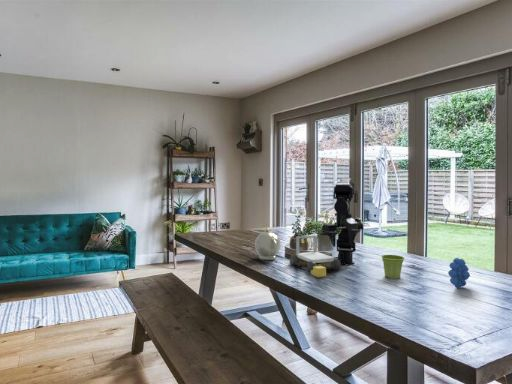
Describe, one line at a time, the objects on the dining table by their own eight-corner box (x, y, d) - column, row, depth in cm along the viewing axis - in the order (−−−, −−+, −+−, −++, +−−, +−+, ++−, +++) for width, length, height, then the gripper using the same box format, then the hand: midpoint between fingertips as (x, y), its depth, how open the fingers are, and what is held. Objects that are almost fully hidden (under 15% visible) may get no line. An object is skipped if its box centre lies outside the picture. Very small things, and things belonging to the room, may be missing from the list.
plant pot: (403, 275, 163) (403, 255, 162) (404, 280, 154) (405, 259, 154) (381, 273, 166) (381, 254, 165) (381, 278, 157) (381, 258, 157)
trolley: (290, 263, 185) (290, 235, 184) (316, 261, 191) (316, 233, 190) (312, 273, 166) (312, 242, 165) (340, 270, 172) (340, 239, 171)
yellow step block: (318, 273, 167) (318, 264, 167) (326, 276, 161) (326, 267, 161) (310, 274, 165) (310, 265, 165) (318, 277, 160) (318, 268, 160)
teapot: (250, 257, 201) (250, 227, 200) (273, 255, 206) (272, 225, 205) (264, 264, 184) (263, 231, 184) (288, 261, 190) (288, 229, 189)
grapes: (461, 293, 136) (461, 261, 136) (443, 289, 142) (444, 258, 141) (477, 288, 142) (478, 257, 142) (460, 284, 148) (460, 254, 148)
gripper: (336, 214, 156) (336, 250, 156) (371, 212, 163) (371, 247, 163) (321, 211, 166) (321, 246, 166) (355, 210, 173) (355, 243, 174)
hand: (342, 246), depth 167 cm, fingers open, 9 cm apart
